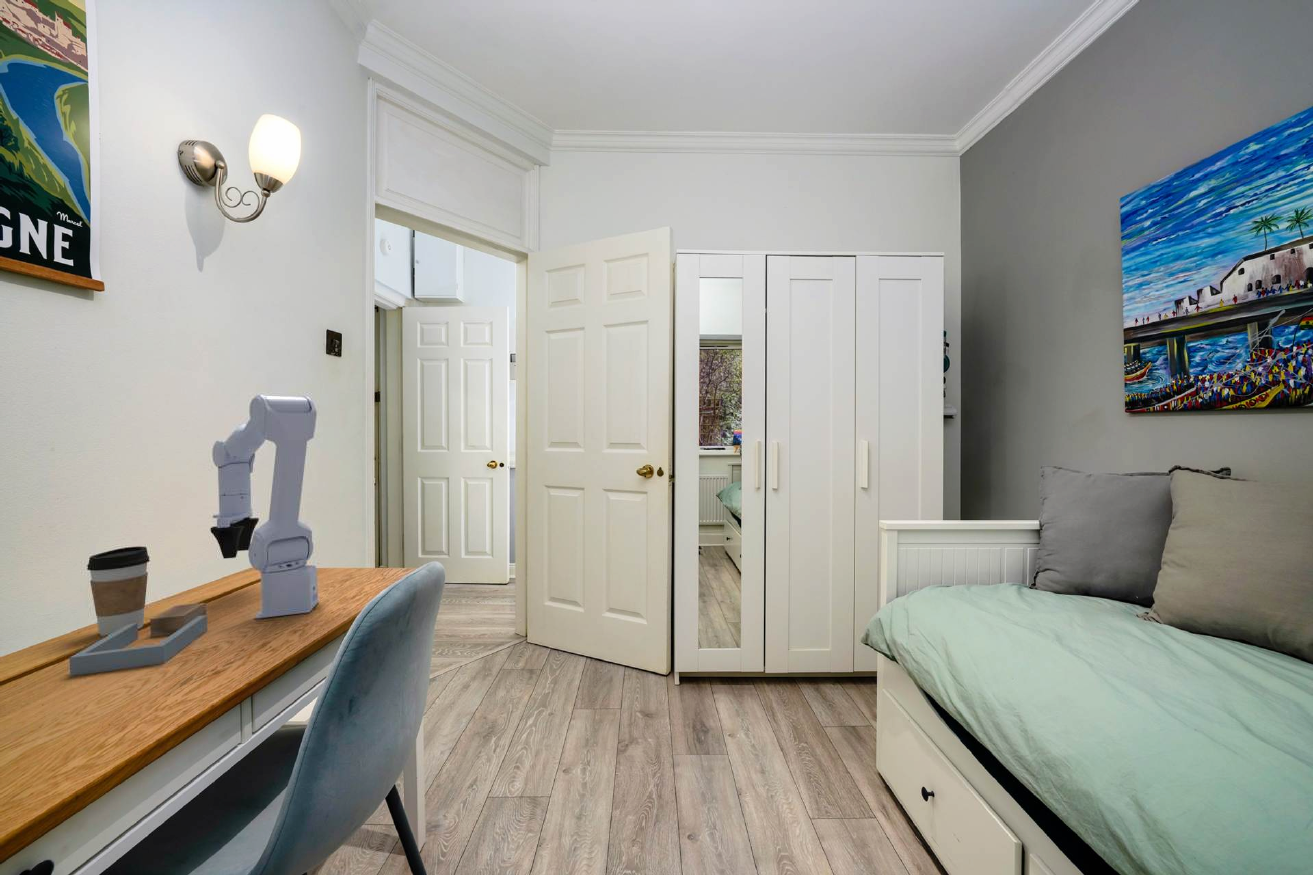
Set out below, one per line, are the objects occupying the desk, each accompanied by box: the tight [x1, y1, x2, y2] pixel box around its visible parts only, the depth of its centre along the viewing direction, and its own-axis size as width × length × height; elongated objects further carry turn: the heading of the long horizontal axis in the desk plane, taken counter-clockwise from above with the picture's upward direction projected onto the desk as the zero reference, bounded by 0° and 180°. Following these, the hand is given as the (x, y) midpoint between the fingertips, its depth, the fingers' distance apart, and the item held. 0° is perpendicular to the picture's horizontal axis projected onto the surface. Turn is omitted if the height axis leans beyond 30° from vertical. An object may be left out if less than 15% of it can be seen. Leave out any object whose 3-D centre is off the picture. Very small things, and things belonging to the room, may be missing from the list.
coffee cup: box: [86, 545, 150, 637], centre depth 102 cm, size 8×8×15 cm
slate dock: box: [69, 614, 208, 677], centre depth 91 cm, size 11×16×3 cm
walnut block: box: [149, 602, 207, 638], centre depth 102 cm, size 5×8×4 cm, turn 17°
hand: (236, 554), depth 122 cm, fingers open, 7 cm apart
